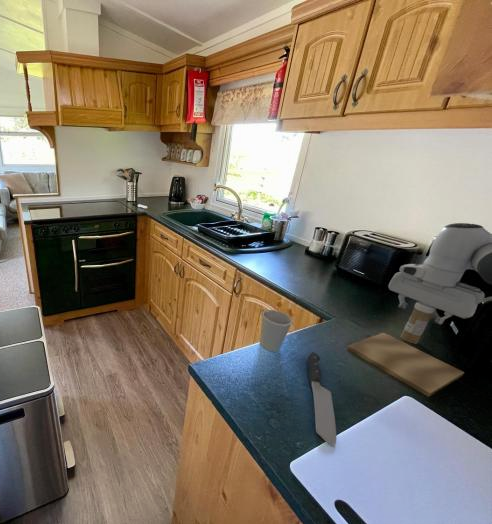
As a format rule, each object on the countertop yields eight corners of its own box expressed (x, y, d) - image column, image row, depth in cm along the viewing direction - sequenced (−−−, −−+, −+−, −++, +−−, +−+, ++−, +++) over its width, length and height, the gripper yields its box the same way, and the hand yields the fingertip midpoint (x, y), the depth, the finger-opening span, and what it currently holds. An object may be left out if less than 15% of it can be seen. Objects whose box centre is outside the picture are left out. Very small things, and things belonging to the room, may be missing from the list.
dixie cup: (290, 352, 85) (299, 323, 81) (267, 356, 82) (275, 326, 79) (271, 335, 92) (278, 308, 89) (249, 338, 90) (256, 310, 86)
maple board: (462, 375, 80) (464, 372, 80) (428, 397, 72) (430, 393, 71) (381, 335, 97) (383, 332, 96) (346, 348, 88) (347, 345, 88)
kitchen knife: (345, 449, 56) (319, 433, 57) (337, 456, 57) (312, 440, 58) (327, 358, 81) (309, 348, 82) (322, 364, 82) (304, 355, 83)
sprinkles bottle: (398, 334, 98) (414, 299, 93) (415, 338, 96) (432, 303, 91) (402, 341, 94) (419, 305, 89) (420, 346, 92) (438, 309, 88)
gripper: (492, 289, 80) (467, 331, 85) (404, 262, 97) (388, 298, 102) (483, 292, 77) (458, 335, 82) (395, 264, 94) (378, 301, 99)
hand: (419, 315), depth 92 cm, fingers open, 8 cm apart
